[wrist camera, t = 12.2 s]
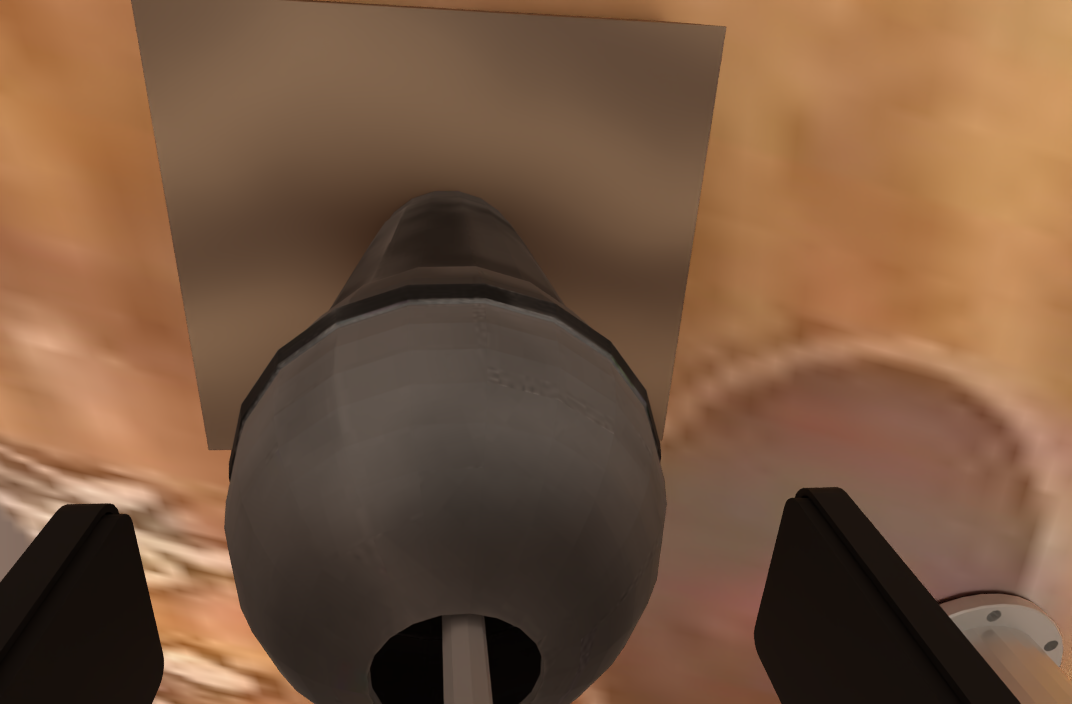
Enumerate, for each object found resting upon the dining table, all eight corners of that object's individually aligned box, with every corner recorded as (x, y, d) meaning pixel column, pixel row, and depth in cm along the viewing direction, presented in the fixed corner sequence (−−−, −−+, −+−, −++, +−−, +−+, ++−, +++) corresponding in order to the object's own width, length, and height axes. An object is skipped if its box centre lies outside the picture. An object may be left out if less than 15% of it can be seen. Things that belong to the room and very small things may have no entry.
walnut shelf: (624, 366, 32) (662, 440, 26) (250, 369, 30) (208, 450, 24) (666, 21, 26) (726, 26, 20) (199, -7, 24) (129, -9, 18)
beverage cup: (322, 351, 23) (-68, 1500, 5) (336, 123, 20) (-441, 1038, 2) (540, 375, 25) (794, 1359, 7) (584, 164, 22) (1250, 949, 4)
